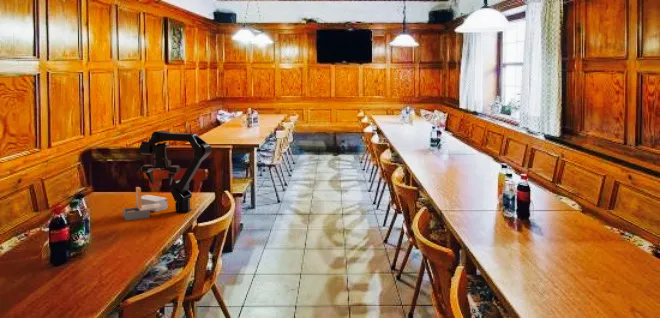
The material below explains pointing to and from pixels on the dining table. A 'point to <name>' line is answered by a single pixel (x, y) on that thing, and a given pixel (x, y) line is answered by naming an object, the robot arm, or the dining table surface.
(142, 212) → the gray open box
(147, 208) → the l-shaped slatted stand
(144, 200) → the skincare box
